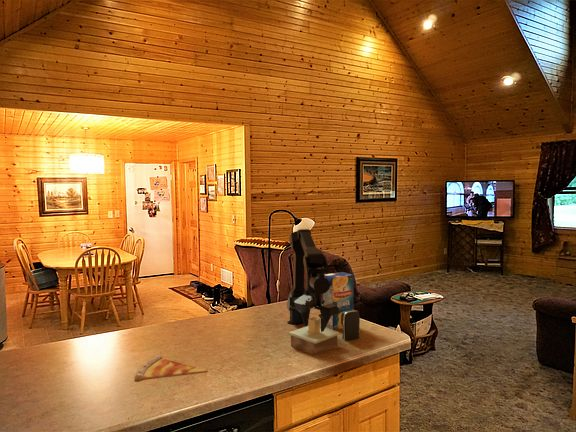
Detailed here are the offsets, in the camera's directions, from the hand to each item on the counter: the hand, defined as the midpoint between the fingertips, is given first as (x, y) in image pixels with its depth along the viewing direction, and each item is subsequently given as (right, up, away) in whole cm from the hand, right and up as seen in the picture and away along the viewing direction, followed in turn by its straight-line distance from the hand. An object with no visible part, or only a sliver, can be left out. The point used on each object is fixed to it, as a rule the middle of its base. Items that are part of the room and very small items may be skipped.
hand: (314, 329), depth 160 cm
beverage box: (+12, -5, +24) cm, 28 cm away
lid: (0, -2, 0) cm, 2 cm away
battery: (+14, -7, +9) cm, 18 cm away
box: (0, -7, +1) cm, 7 cm away
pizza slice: (-49, -9, -21) cm, 54 cm away
